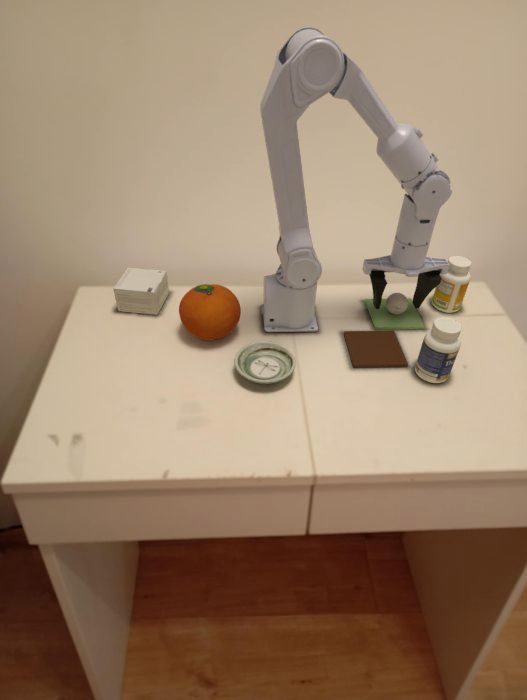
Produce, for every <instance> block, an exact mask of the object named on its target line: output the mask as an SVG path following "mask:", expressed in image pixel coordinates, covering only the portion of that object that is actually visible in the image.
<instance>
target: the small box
mask: <svg viewBox="0 0 527 700" xmlns="http://www.w3.org/2000/svg"><path fill="white" fill-rule="evenodd" d="M169 286H170V285H169V280H168V272H167V270H162V269H149V268H137V267H127V268H126V270H125V271H124V272H123V274H122V275H121V276H120V278H119V280H118V281H117V283H116V284H115V286H114V287H113V289H112V290H113V293H114V298H115V303H116V308H117V311H118V312H124V313H133V314H142V315H143V314H145V315H155V316H157V315H158V314H159V313H160V311H161V310H162V307H163V305H164V303H165V301H166V300H167V297H168V296H169V294H170V287H169Z"/></svg>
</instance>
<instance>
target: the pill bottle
mask: <svg viewBox="0 0 527 700" xmlns="http://www.w3.org/2000/svg"><path fill="white" fill-rule="evenodd" d="M461 331H462V325H461V323H460V322H458V321H457V320H456V319H453V318H451V317H446V316H442V317H437V318H436V319H434V321H433V323H432V326H431V328H430V329H428V330H427V331H426V332H425V334H424V336H423V339H422V343H421V347H420V350H419V353H418V355H417V359H416V363H415V367H414V371H415V373H416V375H417V376H418V377H419V378H420V379H422V380H423V381H425V382H428V383H431V384H440V383H444V382H446V381H448V379H449V377H450V376H451V372H452V370H453V367H454V364H455V362H456V360H457V357H458V354H459V351H460V349H461V347H462V346H461V345H462V339H461V338H460V335H461Z"/></svg>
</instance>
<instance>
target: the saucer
mask: <svg viewBox="0 0 527 700" xmlns="http://www.w3.org/2000/svg"><path fill="white" fill-rule="evenodd" d="M296 364H297V361H296V358H295V355H294V354H293V352H292V351H291V349H289V348H288V347H286V346H284V345H283V344H280V343H277V342H274V341H268V340H267V341H266V340H259V341H254V342H251V343H248V344H246V345H244V346H243V347H241V348H240V349H239V350H238V351H237V352H236V354H235V356H234V367H235V370H236V371H237V373H238V374H239V375H240V376H241V377H242V378H243V379H245V380H247V381H249V382H252V383H255V384H261V385H271V384H272V385H273V384H276V383H280V382H282V381H284V380H286V379H287V378H289V377H290V376H291V375H292V374H293V373H294V371H295V368H296Z"/></svg>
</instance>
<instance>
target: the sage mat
mask: <svg viewBox="0 0 527 700" xmlns="http://www.w3.org/2000/svg"><path fill="white" fill-rule="evenodd" d="M386 300H387V298H382V300H381V305H380V308H379V309H375V307H374V304H373V298H365V300H364V303H365V305H366V309H367V310H368V313H369V316H370V318H371V321H372V324H373V326H374V329H375V331H396V330H398V331H399V330H425V329H426V326H425V323H424V321H423V320H422V317H421V316H420V314H419V312H418V310H417V309H415V307H414V305H413V303H412V302H413V299H411V298H407V300H408V307H407V309H406V310H405V311H404V312H403V313H401V314H392V313H390V312H389V311H388V310H387V308H386Z"/></svg>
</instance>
